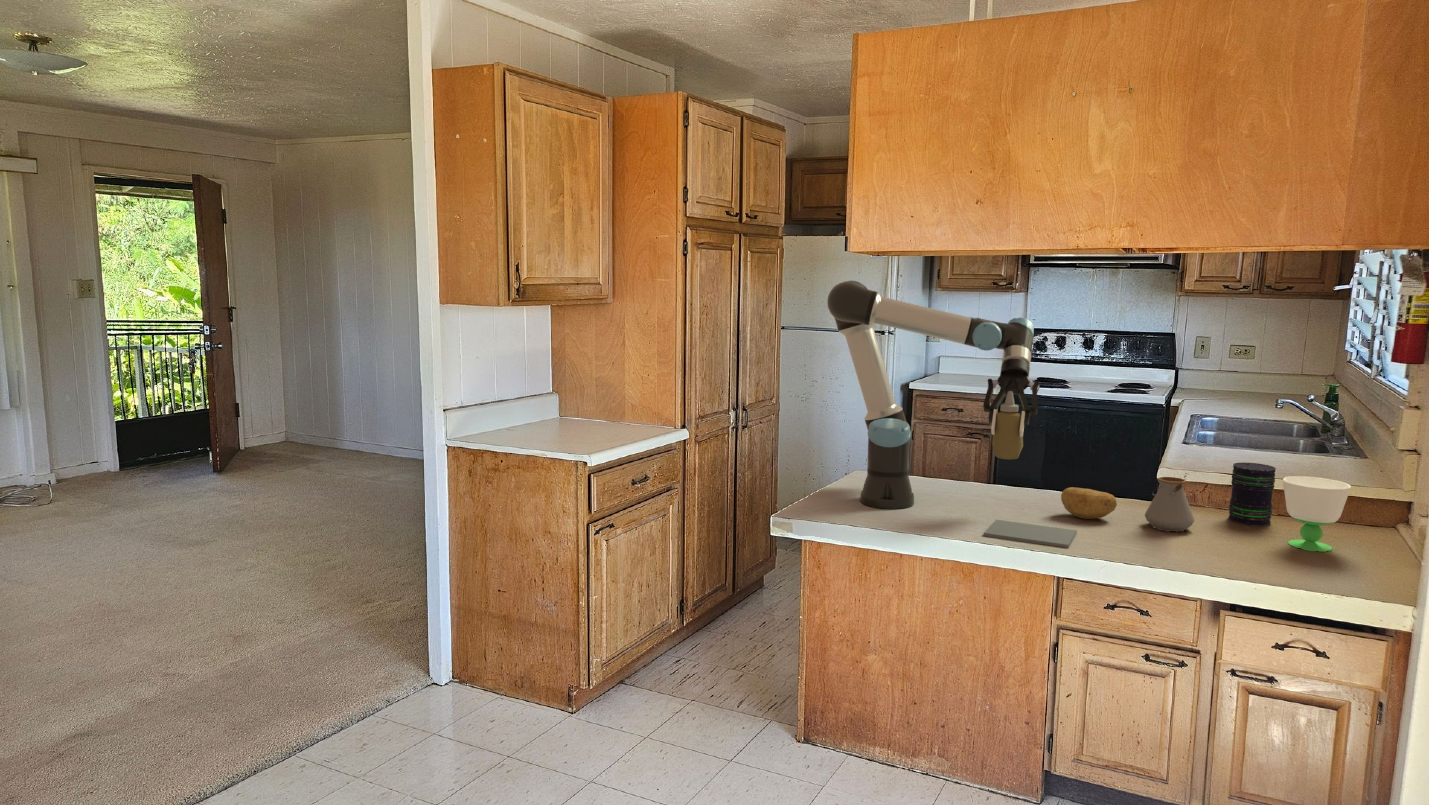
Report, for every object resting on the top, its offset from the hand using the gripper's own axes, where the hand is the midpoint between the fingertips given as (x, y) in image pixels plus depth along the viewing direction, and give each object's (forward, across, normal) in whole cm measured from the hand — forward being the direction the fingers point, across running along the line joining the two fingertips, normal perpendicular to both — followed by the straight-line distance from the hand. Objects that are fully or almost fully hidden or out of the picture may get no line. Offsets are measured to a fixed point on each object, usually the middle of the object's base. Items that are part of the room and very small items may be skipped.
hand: (1006, 432), depth 237 cm
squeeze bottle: (+3, 0, -8) cm, 8 cm away
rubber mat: (+26, -8, -7) cm, 28 cm away
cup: (+14, -71, -19) cm, 75 cm away
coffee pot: (+15, -41, -18) cm, 47 cm away
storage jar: (0, -61, -33) cm, 69 cm away
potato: (+10, -21, -23) cm, 33 cm away
